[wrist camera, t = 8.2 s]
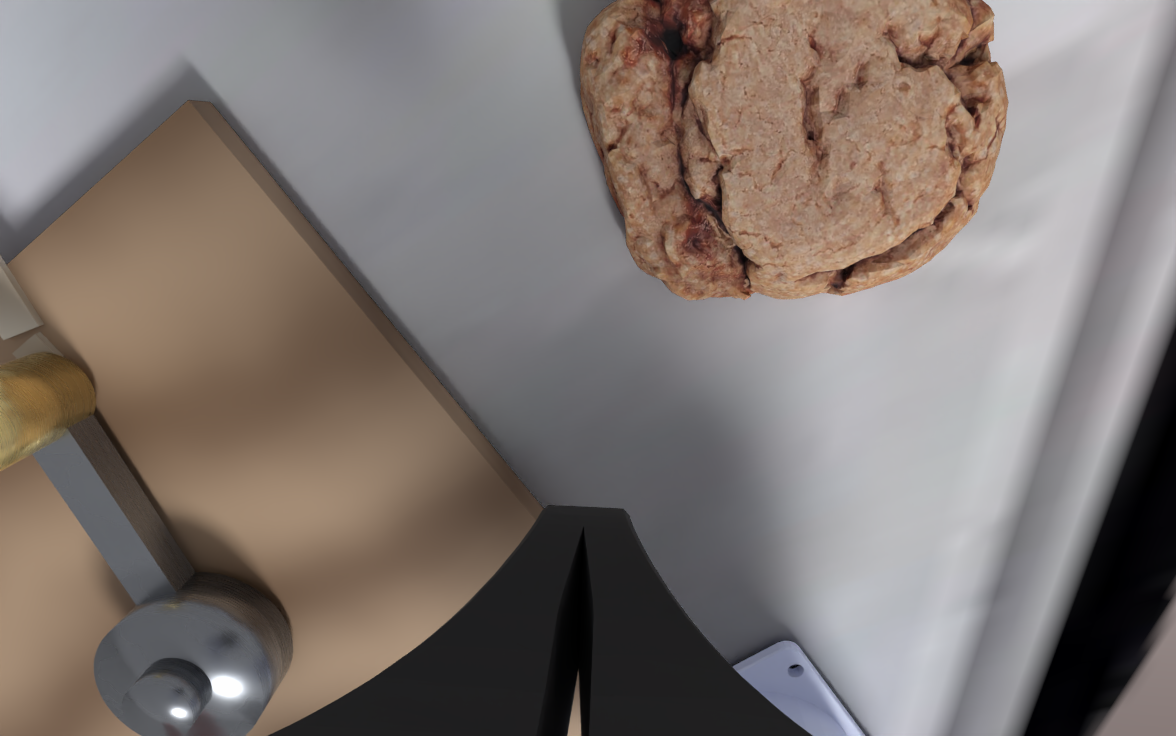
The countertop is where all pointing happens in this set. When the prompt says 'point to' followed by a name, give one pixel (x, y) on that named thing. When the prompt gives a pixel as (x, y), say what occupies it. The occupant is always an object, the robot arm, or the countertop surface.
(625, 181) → the cookie
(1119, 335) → the countertop surface
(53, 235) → the brown cutting board
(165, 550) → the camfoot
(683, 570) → the countertop surface
